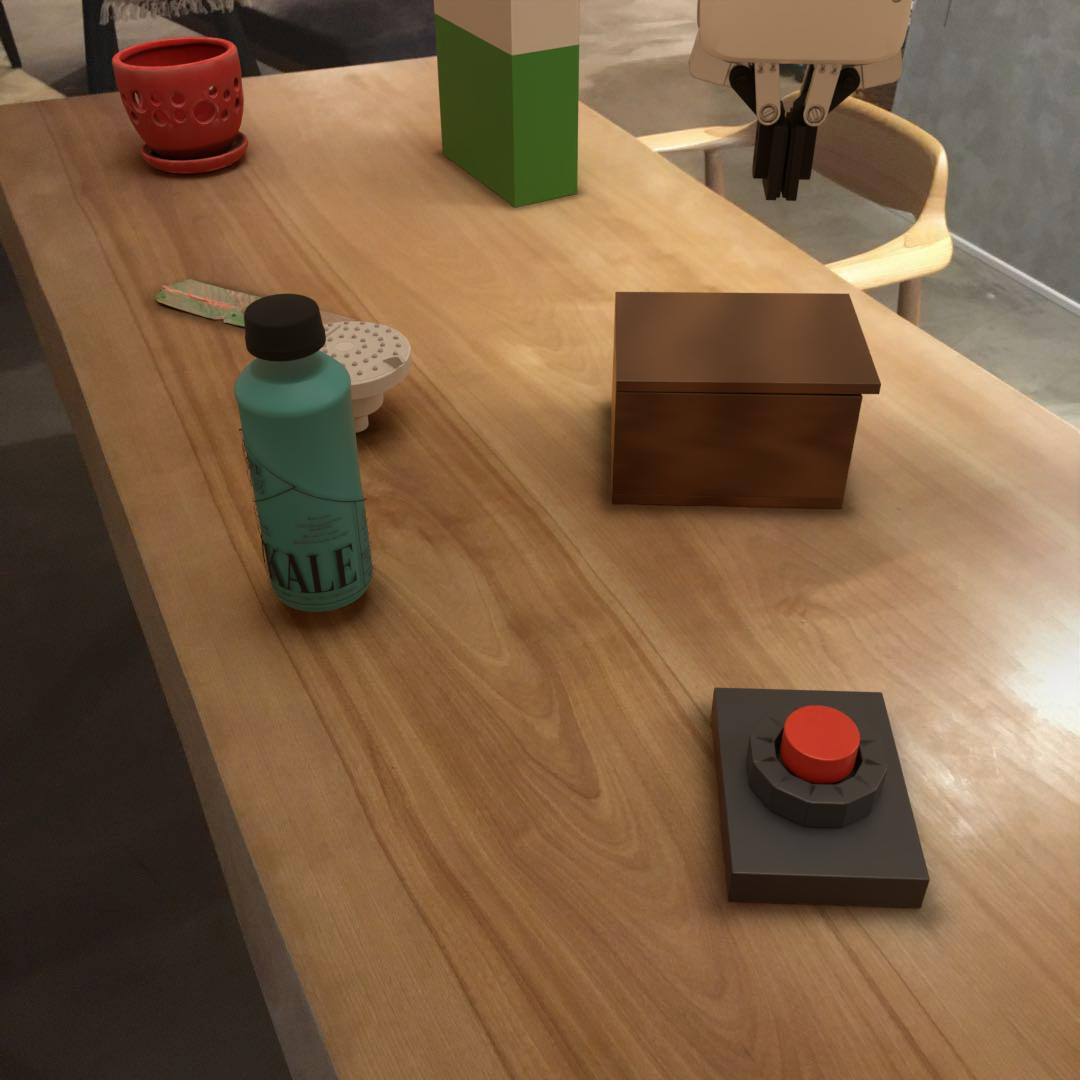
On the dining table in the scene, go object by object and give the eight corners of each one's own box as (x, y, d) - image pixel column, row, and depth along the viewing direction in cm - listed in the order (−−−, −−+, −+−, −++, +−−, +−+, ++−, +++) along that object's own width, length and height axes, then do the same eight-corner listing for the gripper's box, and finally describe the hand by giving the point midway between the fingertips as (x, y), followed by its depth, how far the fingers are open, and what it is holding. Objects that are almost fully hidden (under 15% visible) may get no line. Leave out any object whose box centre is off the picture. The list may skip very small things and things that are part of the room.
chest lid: (847, 303, 84) (849, 293, 84) (879, 394, 74) (881, 383, 74) (615, 301, 85) (615, 291, 84) (615, 391, 75) (616, 380, 75)
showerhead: (361, 387, 79) (248, 350, 83) (372, 476, 83) (264, 437, 87) (442, 329, 85) (333, 298, 89) (447, 415, 90) (343, 381, 94)
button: (776, 728, 59) (780, 703, 58) (848, 730, 59) (853, 705, 58) (784, 783, 56) (788, 759, 55) (860, 786, 56) (866, 761, 55)
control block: (710, 715, 65) (716, 662, 62) (875, 720, 65) (888, 667, 62) (727, 901, 55) (735, 848, 53) (921, 908, 55) (938, 855, 53)
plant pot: (270, 142, 137) (253, 33, 129) (230, 185, 127) (210, 69, 119) (163, 137, 138) (141, 30, 131) (115, 179, 128) (88, 65, 121)
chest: (816, 410, 90) (833, 305, 84) (842, 508, 80) (863, 396, 74) (611, 406, 90) (615, 302, 85) (611, 503, 80) (615, 392, 75)
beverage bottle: (342, 552, 76) (302, 265, 64) (399, 604, 72) (369, 308, 60) (252, 594, 73) (192, 300, 61) (307, 651, 69) (255, 348, 57)
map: (181, 284, 109) (179, 274, 108) (365, 320, 101) (364, 310, 100) (144, 306, 105) (141, 296, 105) (331, 346, 97) (329, 336, 97)
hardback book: (442, 153, 133) (429, -82, 119) (500, 142, 136) (494, -90, 121) (514, 207, 121) (509, -49, 106) (577, 193, 124) (580, -58, 109)
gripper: (979, -215, 55) (906, 169, 67) (660, -216, 56) (641, 163, 68) (1019, -195, 49) (931, 222, 61) (662, -197, 50) (640, 215, 62)
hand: (778, 190), depth 64 cm, fingers closed
